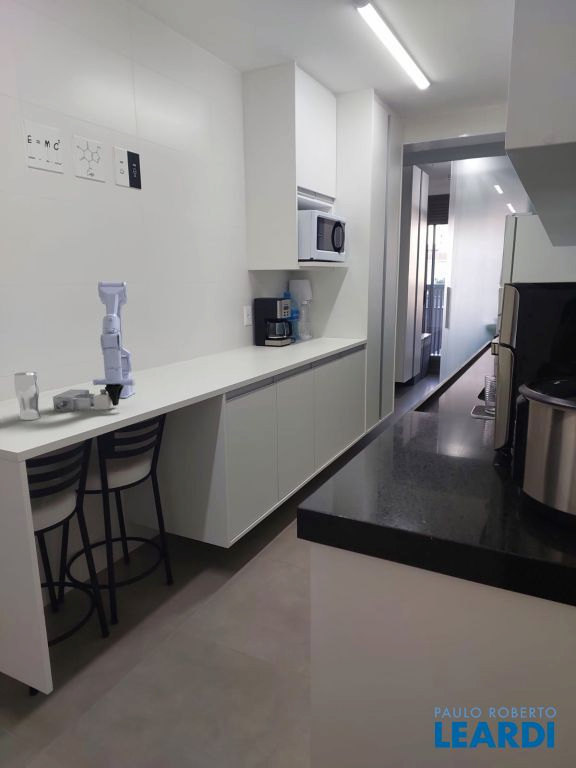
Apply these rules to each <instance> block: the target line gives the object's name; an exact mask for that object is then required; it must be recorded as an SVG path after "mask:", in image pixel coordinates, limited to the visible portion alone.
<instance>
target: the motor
mask: <svg viewBox="0 0 576 768" xmlns="http://www.w3.org/2000/svg"><path fill="white" fill-rule="evenodd" d="M95 394H96V393H90V390H89V389H77V388H75V389H73V388H71V389H68V390H66V391H64V392H60V393H59V394H56V395H53V396H52V401H53V402H52V403H53V411H54V412H75V411H91V410H92V406H94V396H93V395H95Z"/></svg>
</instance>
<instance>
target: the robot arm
mask: <svg viewBox="0 0 576 768" xmlns="http://www.w3.org/2000/svg"><path fill="white" fill-rule="evenodd" d="M97 284H98V285H97V291H98V296H99V298H100V302H101V304H102V305H104V306H105V311H106V313H105V315H104V317H102V334H100V346H101V347H100V348H101V351H102V352H101V353H102V356H103V367H104V368H103V369H104V378H94V379H93V380H92V385H93V386H97V385H98V386H104V389H105V390H106V392H107V393H108V394H109V396H110V398H111V401H112V404H113V407H116V406H118V405H119V402H120V399H127V398H129V397H130V396H133V395H134V394H136V391H134V388H133V387H134V386H135V385H136V380H135V379H133V377H132V375H131V372H132V370H133V362H132V354H131V352H130V351H129V350H128V349H125V347H124V338H123V322H122V321H123V319H122V309H123V306H124V305H126V304H128V303H127V301H128V288H127V282H126V281H124V280H123V281H101V280H99V282H98V283H97Z"/></svg>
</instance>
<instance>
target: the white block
mask: <svg viewBox="0 0 576 768" xmlns="http://www.w3.org/2000/svg"><path fill="white" fill-rule="evenodd" d="M94 394H95V395H93V396H94V405H93V407H94V410H110V409H111V408H113V407H114V406H113V404H112V401H111V398H110V396H109V394H108V393H107V391H106V390H105V388H102V389H100V390H99V392H98V393H94Z"/></svg>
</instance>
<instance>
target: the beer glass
mask: <svg viewBox="0 0 576 768" xmlns="http://www.w3.org/2000/svg"><path fill="white" fill-rule="evenodd" d="M13 375H14V379H13V380H14V381H13V382H14V390H15V394H16V398H17V402H18V404H19V409H20V414H19V420H20V421H21V422H22V421H23V422H26V421H37V420H39V419H40V418H41V412H40V411H39V399H40V398H39V397H40V396H39V395H40V384H39V378H38V373H37V371H36V372H35V371H24V372H23V371H22V372H16V373H14V374H13Z"/></svg>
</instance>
